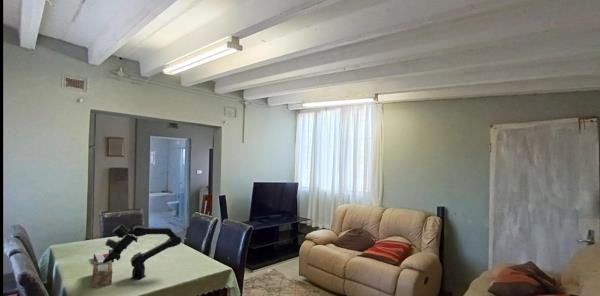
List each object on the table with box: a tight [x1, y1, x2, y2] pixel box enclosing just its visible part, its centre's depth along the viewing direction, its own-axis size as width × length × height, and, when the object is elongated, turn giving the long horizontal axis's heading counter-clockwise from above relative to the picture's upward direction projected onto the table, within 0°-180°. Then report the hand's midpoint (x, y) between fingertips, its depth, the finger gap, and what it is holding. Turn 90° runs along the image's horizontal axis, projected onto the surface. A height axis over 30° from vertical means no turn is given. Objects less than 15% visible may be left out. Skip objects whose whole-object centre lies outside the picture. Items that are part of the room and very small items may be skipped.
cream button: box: [98, 264, 108, 272], centre depth 199 cm, size 5×5×3 cm
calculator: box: [93, 251, 115, 263], centre depth 237 cm, size 11×4×15 cm
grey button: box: [98, 259, 108, 265], centre depth 208 cm, size 5×5×3 cm
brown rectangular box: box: [91, 260, 113, 288], centre depth 203 cm, size 10×22×8 cm, turn 31°
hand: (103, 262), depth 199 cm, fingers closed
